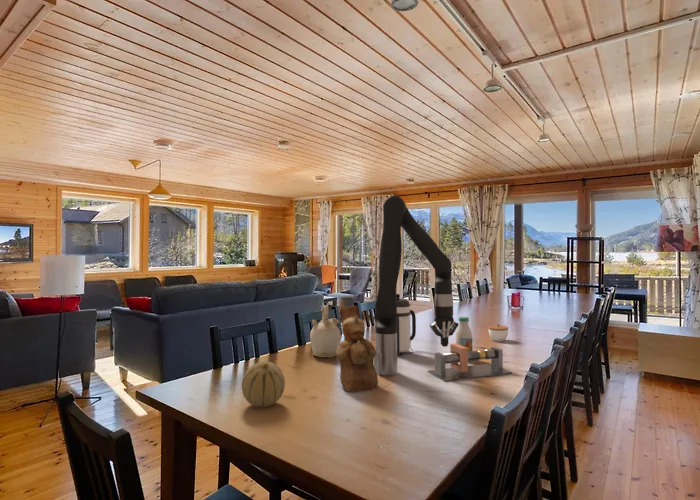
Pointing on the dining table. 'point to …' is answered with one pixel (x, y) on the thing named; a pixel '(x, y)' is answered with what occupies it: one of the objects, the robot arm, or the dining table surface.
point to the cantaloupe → (263, 384)
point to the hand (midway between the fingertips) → (444, 346)
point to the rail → (474, 370)
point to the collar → (463, 357)
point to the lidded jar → (498, 332)
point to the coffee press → (404, 325)
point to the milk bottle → (464, 333)
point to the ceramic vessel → (355, 353)
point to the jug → (325, 336)
